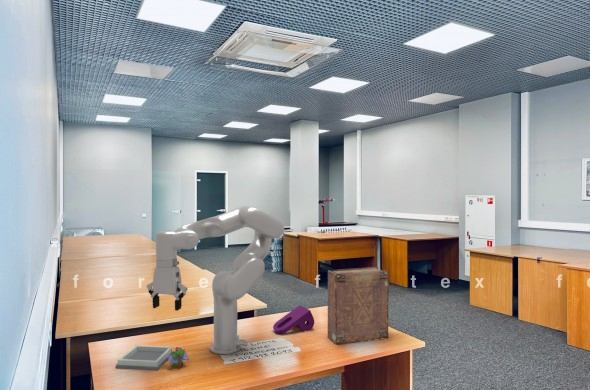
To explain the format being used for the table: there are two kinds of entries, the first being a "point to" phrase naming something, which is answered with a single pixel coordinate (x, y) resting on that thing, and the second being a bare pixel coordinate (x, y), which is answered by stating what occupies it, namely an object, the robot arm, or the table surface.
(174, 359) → the geometric puzzle
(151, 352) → the shallow square tray
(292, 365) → the table surface
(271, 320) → the table surface
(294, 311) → the mounting bracket
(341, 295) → the book
